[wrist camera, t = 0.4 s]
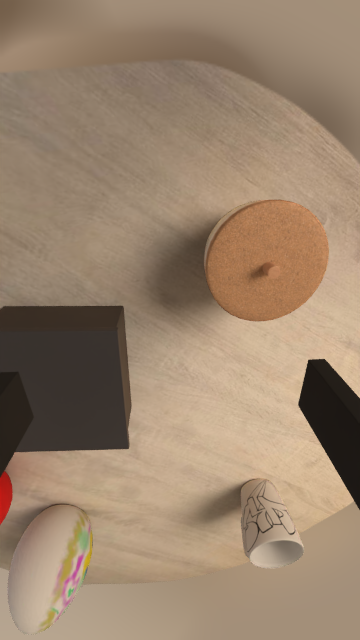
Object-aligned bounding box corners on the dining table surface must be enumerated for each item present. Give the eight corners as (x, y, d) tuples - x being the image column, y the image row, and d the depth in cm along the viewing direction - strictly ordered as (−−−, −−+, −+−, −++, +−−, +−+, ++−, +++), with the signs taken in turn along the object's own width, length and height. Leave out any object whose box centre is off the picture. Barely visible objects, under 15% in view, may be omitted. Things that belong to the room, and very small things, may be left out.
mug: (256, 515, 55) (274, 580, 46) (218, 506, 53) (229, 573, 44) (289, 480, 50) (315, 545, 41) (248, 469, 48) (267, 535, 39)
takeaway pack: (-1, 303, 33) (-40, 331, 26) (126, 302, 33) (117, 330, 27) (31, 410, 40) (6, 452, 34) (134, 408, 41) (128, 449, 35)
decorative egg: (90, 538, 56) (66, 652, 42) (26, 529, 53) (-21, 646, 40) (105, 503, 51) (84, 619, 37) (36, 491, 48) (-14, 610, 35)
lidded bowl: (262, 304, 34) (294, 344, 26) (182, 274, 32) (188, 307, 24) (311, 219, 30) (368, 234, 22) (223, 177, 28) (247, 176, 19)
